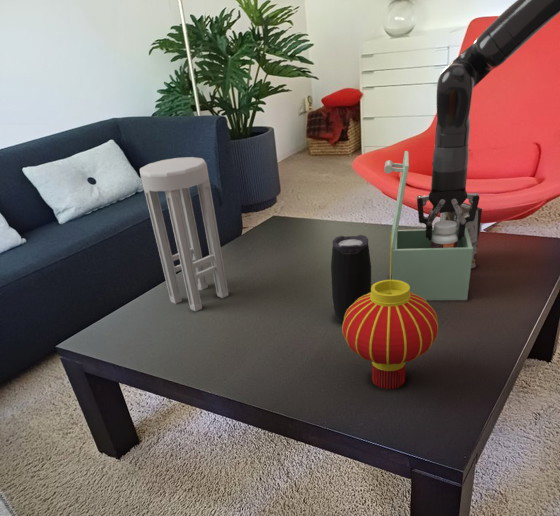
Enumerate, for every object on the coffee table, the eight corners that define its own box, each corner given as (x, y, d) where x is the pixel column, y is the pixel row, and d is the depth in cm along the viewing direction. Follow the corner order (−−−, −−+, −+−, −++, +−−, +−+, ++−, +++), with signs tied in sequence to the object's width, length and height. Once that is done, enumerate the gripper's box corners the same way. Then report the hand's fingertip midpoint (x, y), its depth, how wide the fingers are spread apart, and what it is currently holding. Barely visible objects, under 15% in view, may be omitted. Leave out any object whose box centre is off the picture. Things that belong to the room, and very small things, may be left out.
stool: (160, 302, 143) (126, 169, 123) (204, 282, 151) (179, 154, 132) (194, 318, 133) (163, 175, 114) (239, 295, 141) (218, 159, 122)
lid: (408, 151, 122) (386, 149, 123) (408, 165, 111) (385, 163, 112) (395, 228, 133) (375, 226, 134) (394, 248, 122) (373, 246, 123)
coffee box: (476, 268, 141) (483, 208, 132) (456, 273, 139) (462, 213, 130) (455, 257, 148) (460, 200, 139) (435, 262, 147) (440, 205, 138)
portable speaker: (358, 332, 119) (357, 250, 108) (325, 322, 125) (321, 243, 114) (378, 316, 124) (379, 236, 113) (346, 307, 130) (343, 230, 119)
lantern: (394, 348, 112) (399, 208, 95) (453, 387, 99) (469, 232, 82) (327, 375, 106) (319, 231, 89) (380, 420, 93) (382, 261, 76)
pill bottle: (444, 275, 126) (447, 230, 120) (424, 269, 130) (426, 224, 124) (460, 267, 129) (464, 222, 123) (440, 261, 133) (443, 217, 127)
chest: (461, 277, 137) (467, 227, 130) (467, 301, 126) (473, 248, 119) (392, 278, 141) (393, 230, 133) (391, 301, 130) (392, 250, 122)
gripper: (416, 172, 115) (413, 245, 124) (486, 168, 112) (477, 243, 121) (416, 164, 121) (413, 234, 130) (482, 159, 118) (474, 232, 127)
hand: (444, 238), depth 125 cm, fingers closed on pill bottle, 6 cm apart
